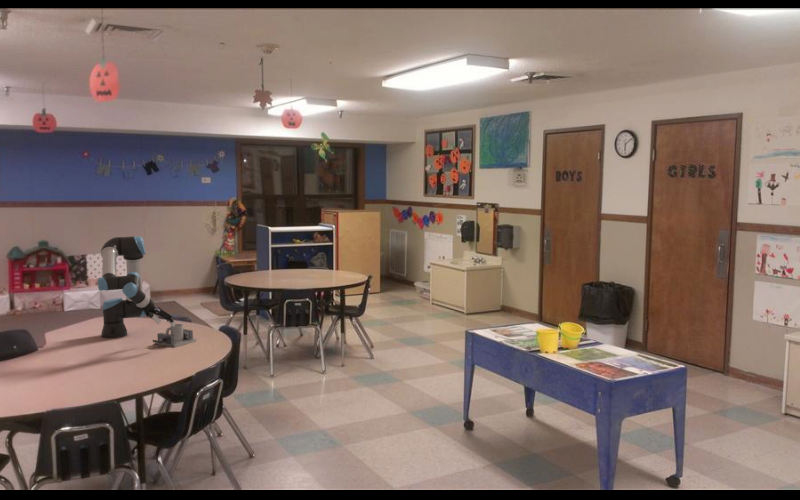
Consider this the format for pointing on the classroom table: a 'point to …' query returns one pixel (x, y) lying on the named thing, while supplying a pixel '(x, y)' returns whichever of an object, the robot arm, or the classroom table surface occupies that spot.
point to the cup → (176, 331)
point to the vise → (170, 339)
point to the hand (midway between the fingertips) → (167, 323)
